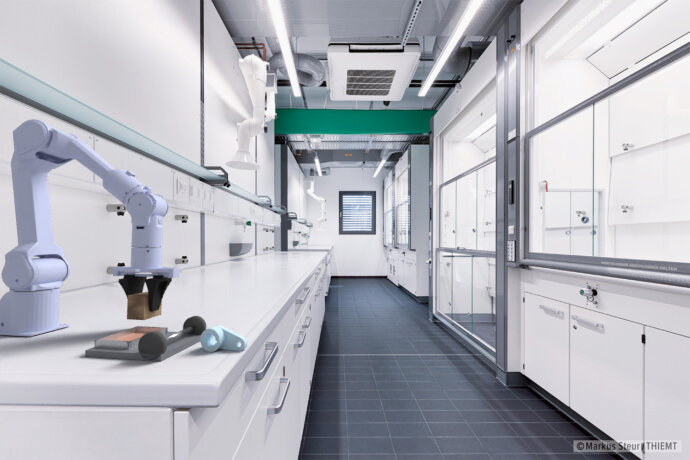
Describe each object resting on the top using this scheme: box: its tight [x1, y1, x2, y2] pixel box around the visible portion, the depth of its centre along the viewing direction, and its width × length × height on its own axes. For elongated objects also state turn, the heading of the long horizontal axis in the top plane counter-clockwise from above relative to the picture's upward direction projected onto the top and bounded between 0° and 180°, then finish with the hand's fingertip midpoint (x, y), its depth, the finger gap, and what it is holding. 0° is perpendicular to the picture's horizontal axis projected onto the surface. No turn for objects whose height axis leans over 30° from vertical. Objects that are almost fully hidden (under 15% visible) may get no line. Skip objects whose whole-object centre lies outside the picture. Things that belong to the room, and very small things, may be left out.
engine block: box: [126, 291, 163, 321], centre depth 68 cm, size 4×5×5 cm
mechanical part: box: [199, 324, 248, 353], centre depth 55 cm, size 8×2×4 cm, turn 74°
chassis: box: [84, 315, 207, 362], centre depth 57 cm, size 14×12×4 cm
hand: (144, 310), depth 68 cm, fingers closed on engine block, 4 cm apart
